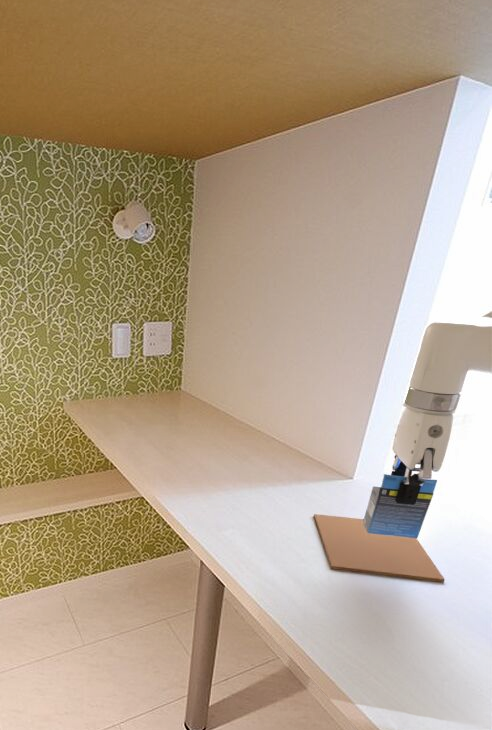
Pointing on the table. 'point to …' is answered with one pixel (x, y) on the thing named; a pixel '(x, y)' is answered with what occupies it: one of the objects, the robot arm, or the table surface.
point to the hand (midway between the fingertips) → (400, 496)
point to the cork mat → (373, 550)
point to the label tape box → (397, 509)
